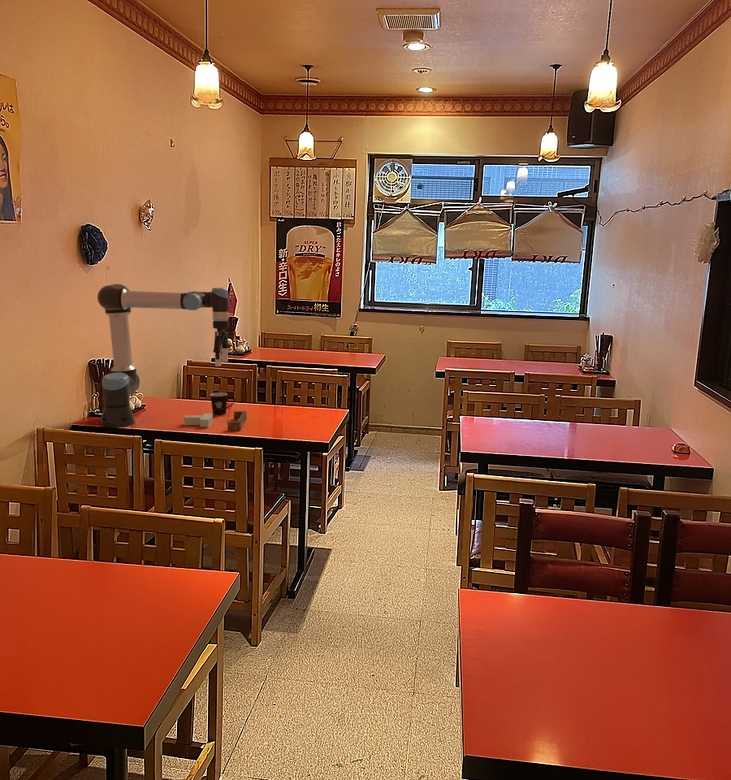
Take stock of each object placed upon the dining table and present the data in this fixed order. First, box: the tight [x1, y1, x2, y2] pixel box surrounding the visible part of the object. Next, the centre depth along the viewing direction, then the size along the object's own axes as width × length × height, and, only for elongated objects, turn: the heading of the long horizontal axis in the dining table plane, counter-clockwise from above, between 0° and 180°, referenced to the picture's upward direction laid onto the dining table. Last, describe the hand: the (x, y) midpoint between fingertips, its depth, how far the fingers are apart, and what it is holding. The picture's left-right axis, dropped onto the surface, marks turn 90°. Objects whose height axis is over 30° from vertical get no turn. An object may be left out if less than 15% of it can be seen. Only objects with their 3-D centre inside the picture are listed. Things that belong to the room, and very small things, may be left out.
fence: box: [226, 410, 248, 431], centre depth 331 cm, size 6×22×4 cm, turn 3°
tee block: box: [183, 413, 214, 428], centre depth 330 cm, size 12×12×4 cm
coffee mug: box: [209, 392, 236, 416], centre depth 352 cm, size 12×9×10 cm
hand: (221, 363), depth 340 cm, fingers open, 13 cm apart
